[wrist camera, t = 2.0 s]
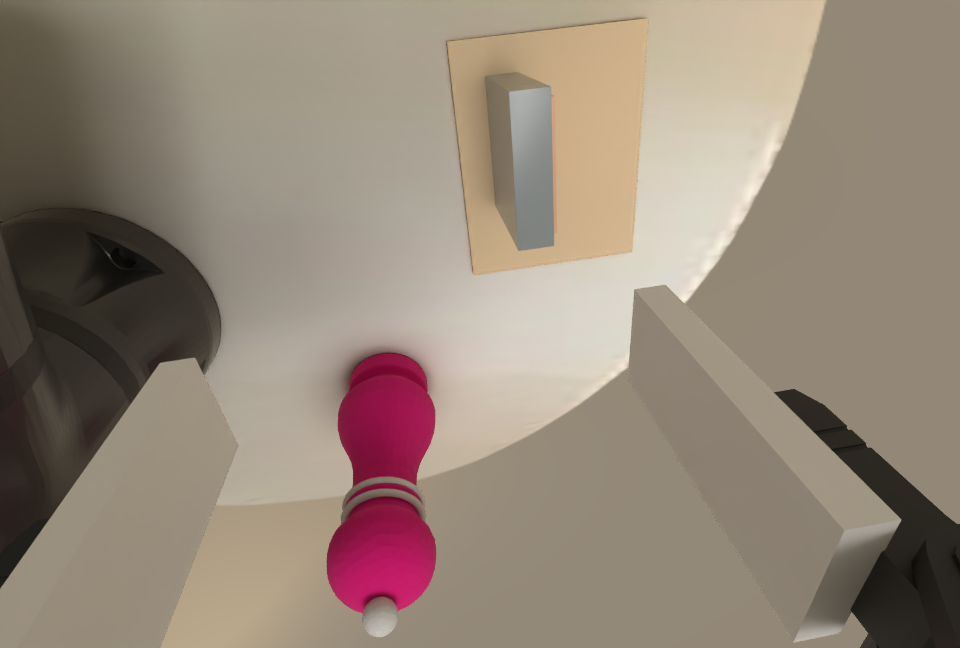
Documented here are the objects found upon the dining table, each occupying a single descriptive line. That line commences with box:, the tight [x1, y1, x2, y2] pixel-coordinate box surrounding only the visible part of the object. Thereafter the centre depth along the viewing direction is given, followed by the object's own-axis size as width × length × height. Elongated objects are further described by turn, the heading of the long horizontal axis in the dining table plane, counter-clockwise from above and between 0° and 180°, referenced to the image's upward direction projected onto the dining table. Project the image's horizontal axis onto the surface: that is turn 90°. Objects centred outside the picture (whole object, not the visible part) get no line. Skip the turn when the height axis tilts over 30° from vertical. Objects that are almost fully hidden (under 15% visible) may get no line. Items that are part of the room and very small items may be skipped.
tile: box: [485, 72, 557, 251], centre depth 29 cm, size 2×8×8 cm, turn 5°
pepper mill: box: [327, 353, 436, 637], centre depth 33 cm, size 7×7×20 cm
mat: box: [446, 18, 649, 275], centre depth 33 cm, size 12×15×1 cm
